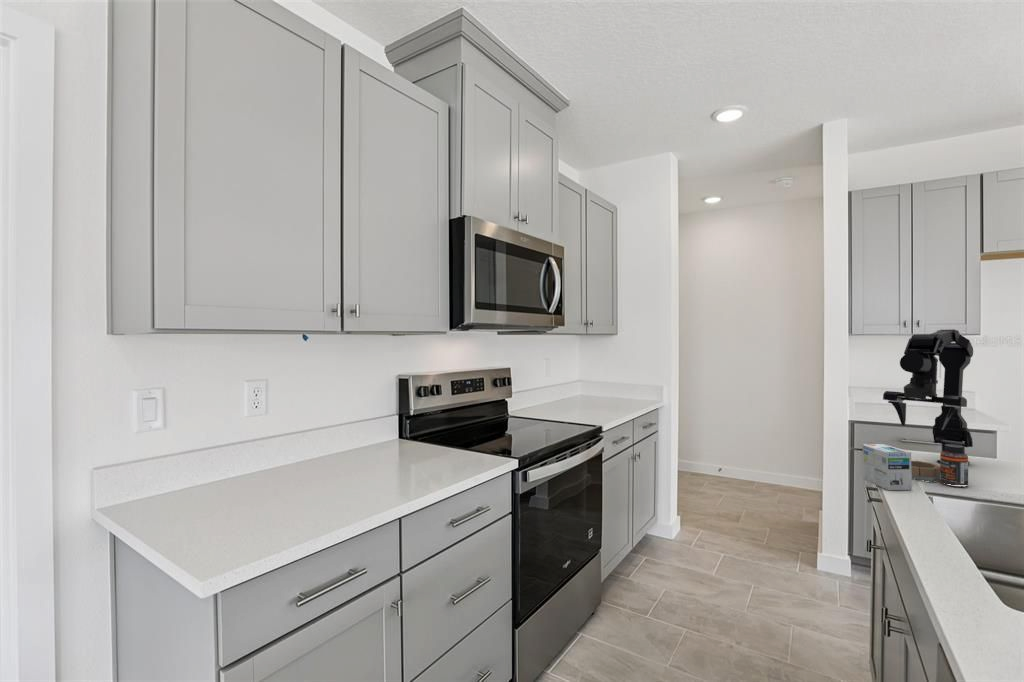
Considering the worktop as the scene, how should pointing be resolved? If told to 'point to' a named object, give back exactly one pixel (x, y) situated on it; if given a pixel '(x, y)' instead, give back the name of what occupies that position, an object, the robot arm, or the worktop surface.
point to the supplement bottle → (954, 465)
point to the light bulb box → (887, 466)
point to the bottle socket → (925, 471)
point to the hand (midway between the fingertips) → (921, 427)
